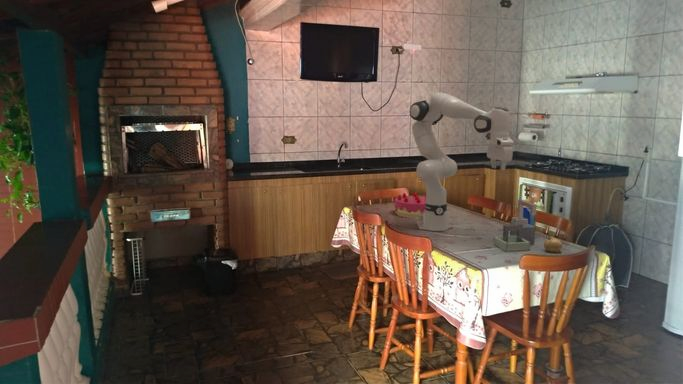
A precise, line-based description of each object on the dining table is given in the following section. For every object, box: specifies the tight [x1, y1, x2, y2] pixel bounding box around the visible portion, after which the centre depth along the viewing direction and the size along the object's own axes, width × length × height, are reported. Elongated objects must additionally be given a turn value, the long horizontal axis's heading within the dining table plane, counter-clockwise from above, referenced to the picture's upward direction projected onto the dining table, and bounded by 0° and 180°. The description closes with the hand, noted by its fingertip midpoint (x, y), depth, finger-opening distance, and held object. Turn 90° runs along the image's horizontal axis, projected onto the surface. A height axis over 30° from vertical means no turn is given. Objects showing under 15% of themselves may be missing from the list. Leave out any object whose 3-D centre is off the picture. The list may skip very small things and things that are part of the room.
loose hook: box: [502, 224, 523, 243], centre depth 246 cm, size 2×9×10 cm, turn 100°
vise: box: [509, 216, 536, 246], centre depth 257 cm, size 14×8×11 cm, turn 9°
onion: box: [543, 236, 563, 253], centre depth 240 cm, size 8×8×7 cm
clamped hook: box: [516, 199, 537, 219], centre depth 252 cm, size 14×2×13 cm, turn 9°
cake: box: [394, 191, 426, 219], centre depth 322 cm, size 28×28×12 cm
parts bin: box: [493, 235, 531, 253], centre depth 247 cm, size 13×12×4 cm
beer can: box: [523, 206, 536, 228], centre depth 267 cm, size 8×8×16 cm
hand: (498, 168), depth 251 cm, fingers open, 8 cm apart
